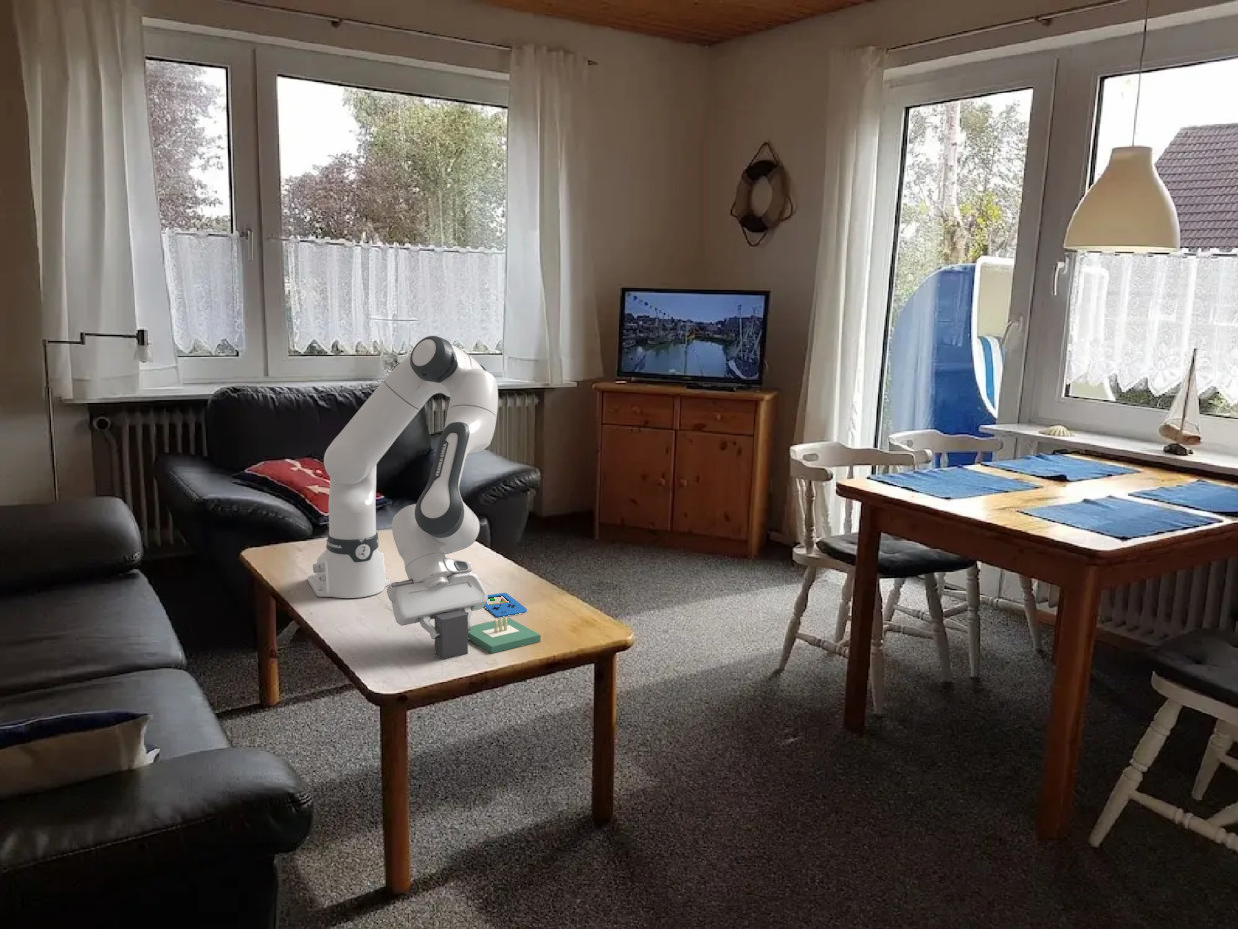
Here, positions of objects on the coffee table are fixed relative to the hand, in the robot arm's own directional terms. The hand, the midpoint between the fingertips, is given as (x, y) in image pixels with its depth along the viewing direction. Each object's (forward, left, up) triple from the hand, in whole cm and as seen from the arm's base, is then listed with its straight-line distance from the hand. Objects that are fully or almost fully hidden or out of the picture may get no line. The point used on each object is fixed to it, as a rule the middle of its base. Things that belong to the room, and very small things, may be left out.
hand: (452, 633), depth 197 cm
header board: (-3, +13, -5) cm, 14 cm away
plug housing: (-1, 0, -5) cm, 5 cm away
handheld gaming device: (-21, +24, -5) cm, 32 cm away
